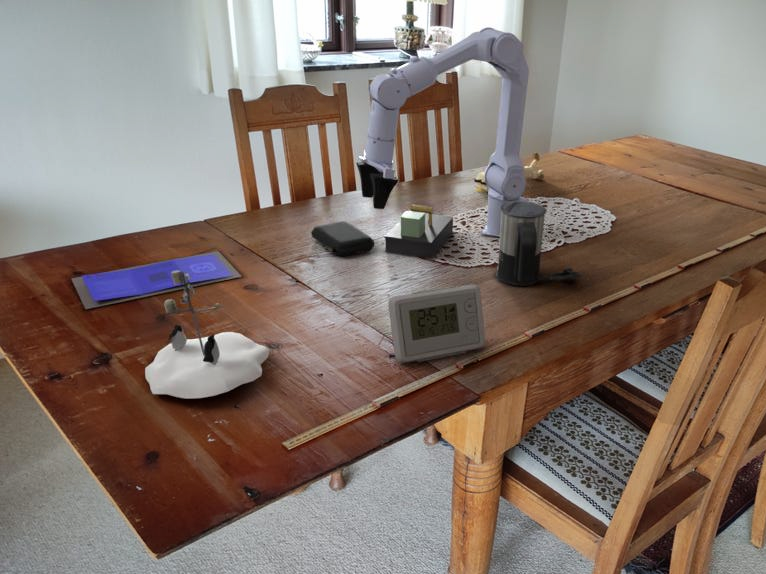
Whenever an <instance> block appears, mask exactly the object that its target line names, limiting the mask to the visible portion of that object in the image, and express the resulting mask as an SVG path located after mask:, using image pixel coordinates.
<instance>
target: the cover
mask: <svg viewBox="0 0 766 574" xmlns="http://www.w3.org/2000/svg"><path fill="white" fill-rule="evenodd" d="M409 211H412V212H419V213H425V232H424V233H423V234H422V235H421V236H420V238H416V237H409V236H402V235H401V220H399V221H398V222H397V224H395V225H394V226H393V227H392V228H391V229H390V230H389V231H388V232H387V233H385V235H384V236H383V239H385V238H386V239H393V240H400V241H407V242H414V243H421V244H428V245H431V244H432V243H433V242H434V241H435V240H436V238H437V237H438V236H439V235H440V234H441V233H442V231H443V230H444V229H445V228H446V227H447V225H448V224H449V223H450V222H451V221H452V220H453V221H454V217H453V216H447V215H439V214H434V207H432V206H425V205H418V204H410V210H409Z"/></svg>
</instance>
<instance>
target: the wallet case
mask: <svg viewBox="0 0 766 574" xmlns="http://www.w3.org/2000/svg"><path fill="white" fill-rule="evenodd" d="M453 230H454V219H453V220H452V221H451V222H450V223H449V224H448V225H447V227H446V228H445V229H444V230H443V231H442V233H441V234H440V235H439V236H438V237H437V238H436V240H435V241H434V242H433V243H432V244H431V245H428V244H421V243H414V242H407V241H400V240H393V239H386V238H384V239H385V240H384V241H385V253H390V254H395V255H396V254H397V255H404V256H410V257H418V258H423V259H424V258H425V259H431V260H432V259H433V258H434V257H435V256H436V254H437V253H438V252H439V251H440V249H441V248H442V247H443V246H444V245H445V244H446V242H447V241H448V240H449V239H450V237H451V236H452V234H453Z"/></svg>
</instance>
